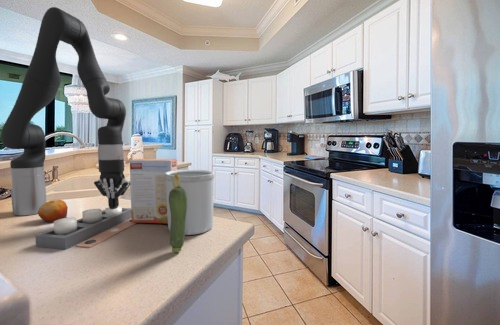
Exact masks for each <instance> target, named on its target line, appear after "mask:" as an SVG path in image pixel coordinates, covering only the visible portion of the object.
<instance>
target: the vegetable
mask: <svg viewBox="0 0 500 325" xmlns="http://www.w3.org/2000/svg"><path fill="white" fill-rule="evenodd" d="M178 175H179V174H178V172H177V173H175V176H174V178H173V181H172V185H173V187H174V188H173V189H172V190H171V191H170V193H169V206H170V212H171V229H170V231H169V238H170V239H169V240H170V242H169V243H170V246H171V251H172V253H173V254H174V253H179V252H182V248H183V246H184V243H185V236H186V235H185V223H186V213H187V194H186V191H185V190H184V189H183V188H182V187H180V186H181V182H180V178H179V176H178Z"/></svg>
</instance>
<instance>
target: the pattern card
mask: <svg viewBox="0 0 500 325" xmlns="http://www.w3.org/2000/svg"><path fill="white" fill-rule="evenodd" d="M138 223H139V222H132V218H131V219H128V220H126V221H124V222H122V223H120V224H118V225H116V226H114V227H112V228H110V229H108V230H106V231H103V232H101V233H99V234H97V235H95V236H93V237H91V238H89V239H87V240H85V241H83V242H81V243H78V244H76V245H74V247H79V248H86V249H89V248H93V247H94V246H96V245H98V244H100V243H102V242H104V241H106V240H108V239H110V238H111V237H113V236H115V235H118V234H119V233H121V232H123V231H125V230H127V229H128V228H131V227H132V226H134V225H136V224H138Z"/></svg>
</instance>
